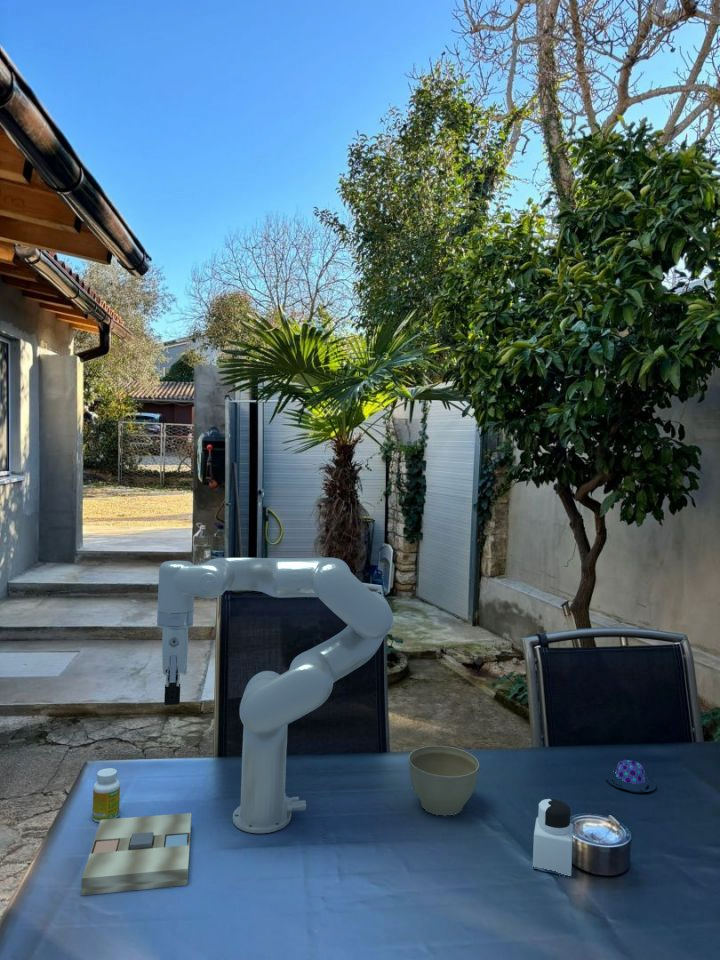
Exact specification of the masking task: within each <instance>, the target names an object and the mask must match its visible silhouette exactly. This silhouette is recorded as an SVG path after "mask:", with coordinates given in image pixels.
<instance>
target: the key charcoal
mask: <svg viewBox="0 0 720 960" xmlns="http://www.w3.org/2000/svg"><path fill="white" fill-rule="evenodd" d="M153 835H154V832H149V833H137V834H132V837H131V842H130V850H138V849H150V848H152V845H153Z"/></svg>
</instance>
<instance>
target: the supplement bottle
mask: <svg viewBox="0 0 720 960" xmlns="http://www.w3.org/2000/svg"><path fill="white" fill-rule="evenodd" d="M117 777H118V770H117V769H115V768H112V767H111V768H109V767H108V768H102V769H100V770H98V772H97V774H96V782H95V783H94V784H93V788H92V789H93V790H92V813H91V815H92V816H91V817H92V821H94V822H96V823H99V824H100V821H101V820H105V819H118V817H119V815H120V802H121V801H120V799H121V797H120V796H121V783H120V780H119V779H118V778H117Z"/></svg>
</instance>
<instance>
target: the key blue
mask: <svg viewBox="0 0 720 960" xmlns="http://www.w3.org/2000/svg"><path fill="white" fill-rule="evenodd" d="M187 835H188V834H185V835H173V836H167V837H166V845H165V847H173V846H185V845H187Z"/></svg>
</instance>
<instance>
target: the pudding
mask: <svg viewBox="0 0 720 960" xmlns="http://www.w3.org/2000/svg"><path fill="white" fill-rule="evenodd" d="M615 771H616V772H615V774H616V777H617V778H618V779H622V781H624V782H626V783H632V784H639V783H645V780H646V777H647V776H646V772H645V768H644V766H643V764H641V763H639V762H638V761H634V760H633V759H632V760H631V759H630V760H629V759H628V760H627V759H623V760H621V761H619V762H618V763H617V766H616V769H615Z"/></svg>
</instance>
